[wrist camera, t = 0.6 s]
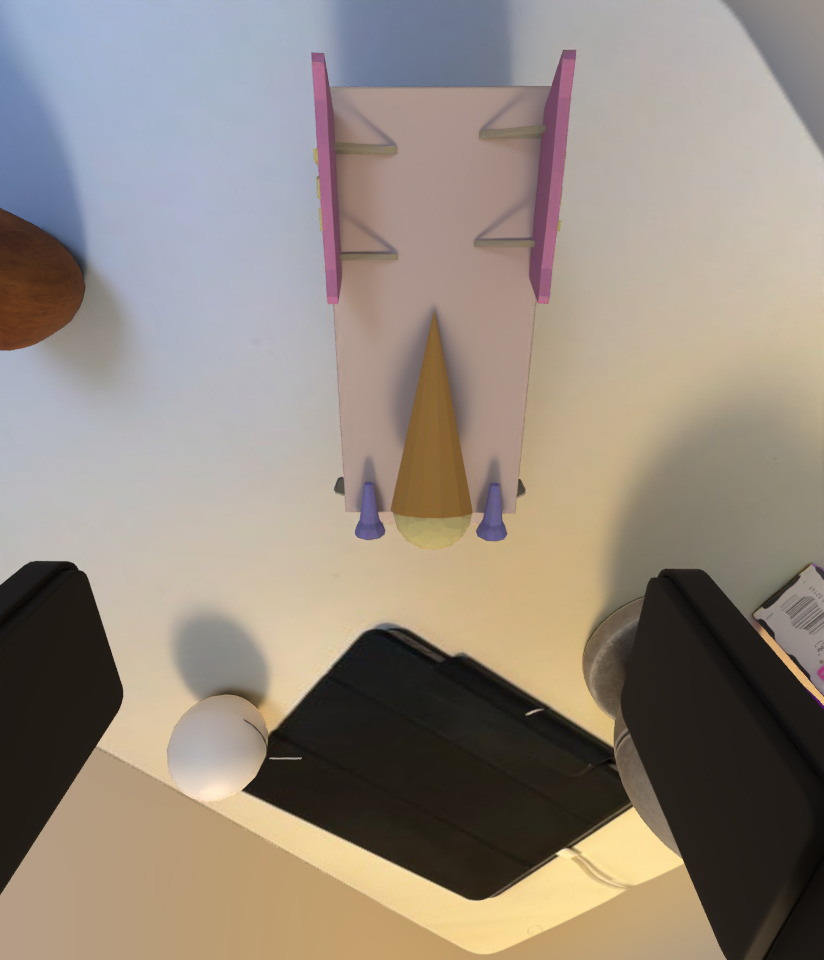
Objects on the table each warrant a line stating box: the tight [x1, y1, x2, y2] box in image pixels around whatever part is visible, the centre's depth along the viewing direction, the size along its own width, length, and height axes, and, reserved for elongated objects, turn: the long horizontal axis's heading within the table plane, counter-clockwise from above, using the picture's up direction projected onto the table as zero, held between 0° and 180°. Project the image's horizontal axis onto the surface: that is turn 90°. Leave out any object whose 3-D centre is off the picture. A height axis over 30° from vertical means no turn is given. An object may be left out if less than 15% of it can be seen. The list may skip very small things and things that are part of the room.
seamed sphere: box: [167, 695, 301, 802], centre depth 40 cm, size 10×7×7 cm
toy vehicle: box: [312, 50, 576, 550], centre depth 23 cm, size 9×20×15 cm, turn 0°
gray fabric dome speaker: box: [583, 597, 824, 858], centre depth 33 cm, size 13×13×15 cm
